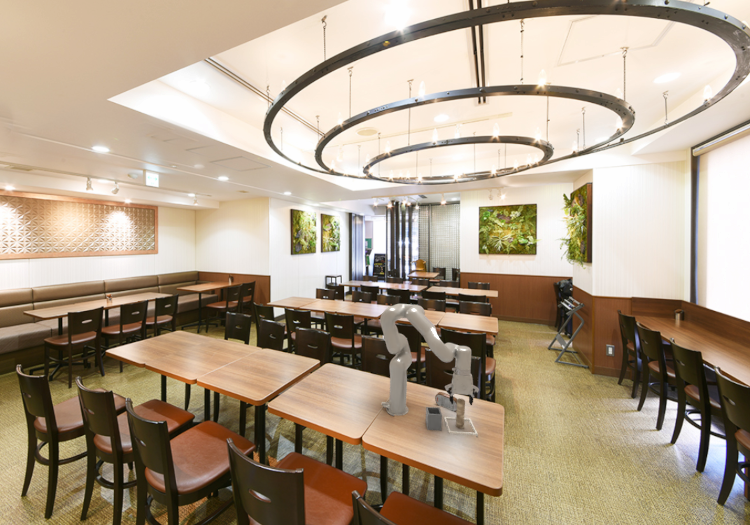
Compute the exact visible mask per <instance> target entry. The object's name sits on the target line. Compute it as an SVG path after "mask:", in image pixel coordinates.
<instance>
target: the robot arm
mask: <svg viewBox="0 0 750 525" xmlns="http://www.w3.org/2000/svg"><path fill="white" fill-rule="evenodd" d="M425 314H426V311H425V309H424V308H423V307H422V306H421V305H419V304H407V303H397V304H393V305H390V306H389V307H388V308H386V309H385V310H383V312H382V314H381V315H380V320H379V323H380V326H381V330H382V333H383V337H384V340H385V344H386V345H385V346H386V349H387V351H388V352H389V354H391V355H395V356H394V357H393V358H392V359H391V360H390V362H389V375H390V376H389V399H388V401H386V402H385V401H381V402H380V403H381V404H380V405H381V407H383V408H386V412H387V413H388V414H389V415H390V416H393V417H395V416H404V415H406V414H408V413H409V411H410V410H409V407H408V406H407V390H408V389H407V388H408V378H407V377H408V375H407V370H408V368H409V367H410V366H411V364H412V362H413V357H412V356H413V355H412V353H411V348H410V345H409V341H408V339H407V337H406V336H405V335H404V334H402V333H400V332H399V329H398V327H397V325H396V322H397V321H398V320H400V319H407V321H408V323H410V324H411V325H412V326H413V327H414V328H415V329H416V330H417V332H419V333H420V334H421V336H422V337H423V338H424V340H425V342H426V344H427V346H428V347H429V349H430V350H431V352H432V353H433V354H434V355H435V356H436V357H437V358H438V359H439V360H440V361H441V362H444V363H451V362H452V361H453V360H454V358H455V366H454V367H452V368H451V370H452V371H453V374H452V379H451V383H449V384H447V385H445V386H444V388H445V391H446V394H448V395H450V402H451V404H453V397H454V395H455V394H456V395H466V396H468V395H469V397H468V399H469V400H468V403H469V405H470V406H473V403H474V398H475V396H477V395H478V392H479V391H480V389H479V387H478V386H476V385H474V380H473V379H474V378H473V375H472V373H471V364H472V349H471V348H470V347H469V346H467V345H458V344H456V343H454V342H446V343H444V342H443V341H442V339H441V338H440V337H439V335H438V333H437V332H438V331H437V328H436V326H435V324H434V323H433V322H432V321H431V320H430V319H429V318H428V317H427V316H426V315H425ZM450 389H451V390H450Z"/></svg>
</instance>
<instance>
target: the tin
mask: <svg viewBox="0 0 750 525" xmlns="http://www.w3.org/2000/svg"><path fill="white" fill-rule="evenodd" d="M457 399H458V398H457V397H455V396H453V404H451V402H450V395H449V394H448V393H447V392H446V393H445V392H443V391H439V392H437V394H436V395H435V397H434V401H435V403H436V405H437V406H439V407H443V408H445V409H447V410H451V411H452V412H454V413H456V412H457Z"/></svg>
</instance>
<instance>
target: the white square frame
mask: <svg viewBox="0 0 750 525" xmlns="http://www.w3.org/2000/svg"><path fill="white" fill-rule="evenodd" d="M443 419H444V423H445V425H446V429H447V431H448V434H450V435H466V436H475V437H476V438H478V434H479V433H478V431H477V428H476V427H475V426H474V423H473V421H472V418H471V417H469V418H467V417H464V422H465V421H466V422H467V421H468V422H469V425H470V426H471V429H472V431H473V432H472V431H471V432H469V431H456V430H455V431H453V430H451V429H450V426H449V422H448V421H456V417H454V416H453V417H450V416H444V417H443Z"/></svg>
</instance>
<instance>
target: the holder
mask: <svg viewBox="0 0 750 525" xmlns="http://www.w3.org/2000/svg"><path fill="white" fill-rule="evenodd" d="M442 423H443V413H442V411H441V408H440V407H437V406H435V407H434V406H425V425H426V430H427V431H440V432H442V425H443V424H442Z"/></svg>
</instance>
